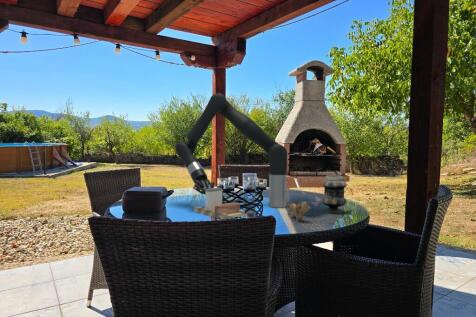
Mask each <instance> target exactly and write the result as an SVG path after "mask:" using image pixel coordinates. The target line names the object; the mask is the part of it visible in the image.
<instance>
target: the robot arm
mask: <svg viewBox="0 0 476 317" xmlns="http://www.w3.org/2000/svg"><path fill="white" fill-rule="evenodd" d="M217 114H219V115H221V116H222V117H224V118H225V119H226V120H228V121H229V122H230V124H232V126H233V127H234V128H235V129H236V130H237V131H238V132H240V133H241V134H242V135H243V136H244V137H246V139H248V140H249V141H250V142H252V143H253V144H255V145H257V146H259V147H260V148H261V149H263V150H264V152H266V154H267V155H268V157H269V163H268V165H269V167H268V169H269V170H268V171H269V172H268V174H269V175H268V178H269V179H268V183H269V184H268V206H269V207H270V208H287V172H288V170H287V169H288V151H287V149H286V147H285V146H284V145H282V144H281V143H279V142H277V141H275V140H274V139H273V138H271V136H269V135H268V134H267V133H266V132H265V130H264V129H262V127H261V126H259V124H257V123H256V122H255V121H254V120H253V119H251V118H250V117H249V116H247V115H246V114H244V113H243V112H241V111H239V110H238V109H237V108H235V107H234V106H233V105H232V104H231V103H230V102H229V101H228V100H227V98H226V95H224V94H223V93H220V92H219V93H218V92H217V93H214V94H213V95H211V96H210V98H209V100H208V103H207V105H206V106H205V107H204V110H203V111H202V114H200V116H199V118H198V119H197V121H196V122H195V124H194V125H193V126H192V127H191V129H190V130H189V131H188V133H187V134H186V138H187V143H186V142H184V141H179V142H177V143H176V145H175V153H176V155H177V156H178V157H179V159H180V160H181V161H182V162H183V163H184V165H185V167H186V169H187V171H188V175H189V176H190V178H191V180H192V182H193V183H194V185H193V187H192V189H193V190H194V191H196V192H197V193H199V194H201V195H205V196H206V191H205V189H210V188H215V182H211V181H210V179H208V174H207V173H206V172H205V169H204V167H203V166H202V165H201V163H200V162H199V160H198V157H196V156H195V155H194V154H195V151H196V148H197V147H198V146H197V145H198V143H199V141H200V140H201V139H202V137H203V136H204V134H205V132H207V130H208V128H209V126H210V124H211V122H212V121H213V119H214V118H215V117H216V115H217Z"/></svg>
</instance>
